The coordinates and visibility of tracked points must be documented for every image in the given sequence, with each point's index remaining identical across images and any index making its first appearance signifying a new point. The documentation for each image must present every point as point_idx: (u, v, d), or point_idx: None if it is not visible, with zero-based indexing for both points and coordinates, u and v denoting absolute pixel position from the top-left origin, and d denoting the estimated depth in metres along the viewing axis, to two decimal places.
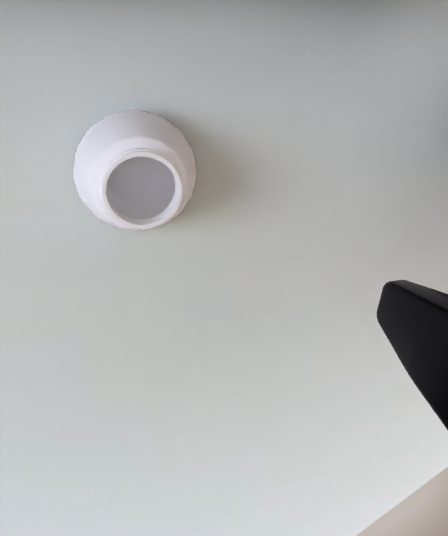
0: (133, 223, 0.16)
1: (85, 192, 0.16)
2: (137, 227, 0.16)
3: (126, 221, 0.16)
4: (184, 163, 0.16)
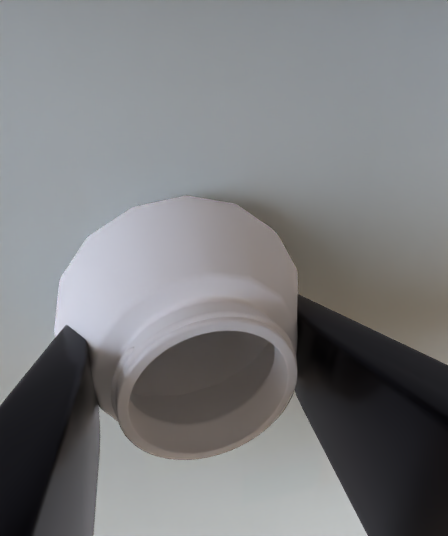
0: (185, 451, 0.07)
1: None
2: (194, 458, 0.07)
3: (171, 450, 0.07)
4: (294, 313, 0.07)
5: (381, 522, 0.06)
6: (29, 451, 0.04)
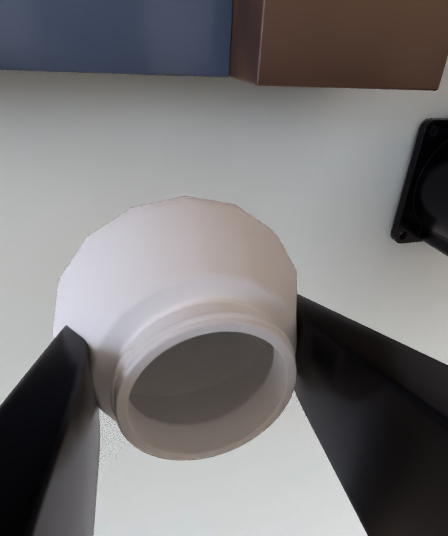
0: (184, 451, 0.07)
1: None
2: (193, 458, 0.07)
3: (169, 450, 0.07)
4: (293, 313, 0.07)
5: (381, 522, 0.06)
6: (29, 451, 0.04)
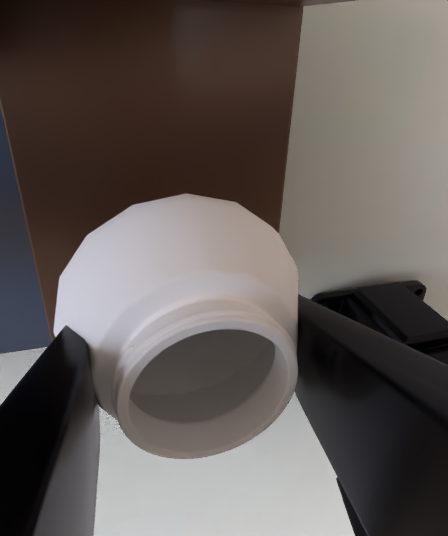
0: (185, 450, 0.07)
1: None
2: (194, 457, 0.07)
3: (170, 448, 0.07)
4: (295, 311, 0.07)
5: (381, 523, 0.06)
6: (29, 451, 0.04)
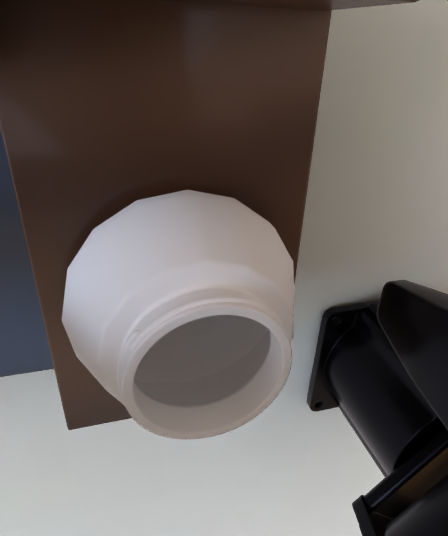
0: (186, 431, 0.08)
1: (86, 359, 0.08)
2: (194, 437, 0.08)
3: (172, 429, 0.07)
4: (289, 301, 0.08)
5: None
6: None
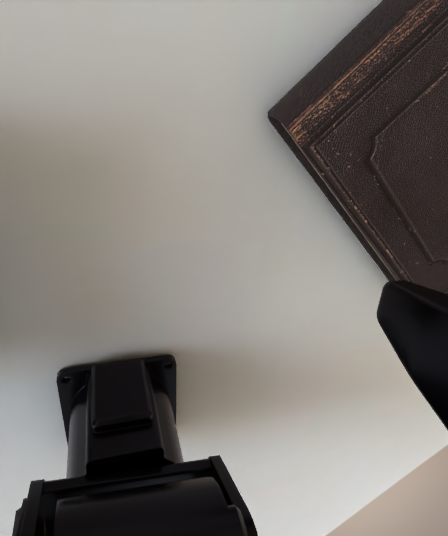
0: None
1: None
2: None
3: None
4: None
5: None
6: None
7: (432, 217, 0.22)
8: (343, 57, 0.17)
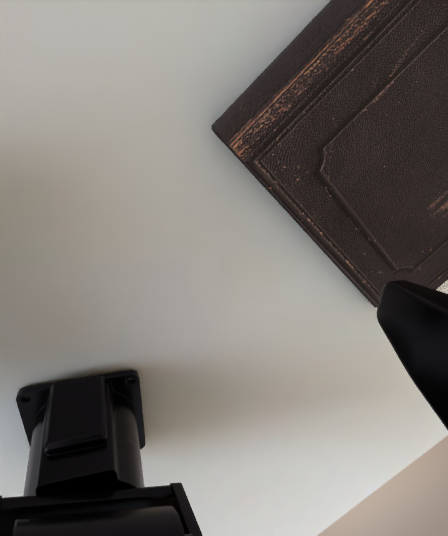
0: None
1: None
2: None
3: None
4: None
5: None
6: None
7: (392, 226, 0.21)
8: (282, 69, 0.16)
